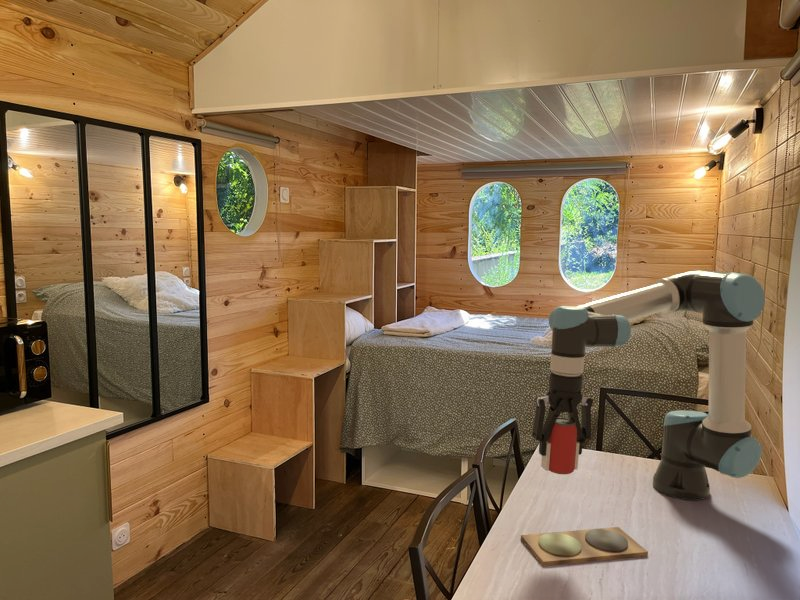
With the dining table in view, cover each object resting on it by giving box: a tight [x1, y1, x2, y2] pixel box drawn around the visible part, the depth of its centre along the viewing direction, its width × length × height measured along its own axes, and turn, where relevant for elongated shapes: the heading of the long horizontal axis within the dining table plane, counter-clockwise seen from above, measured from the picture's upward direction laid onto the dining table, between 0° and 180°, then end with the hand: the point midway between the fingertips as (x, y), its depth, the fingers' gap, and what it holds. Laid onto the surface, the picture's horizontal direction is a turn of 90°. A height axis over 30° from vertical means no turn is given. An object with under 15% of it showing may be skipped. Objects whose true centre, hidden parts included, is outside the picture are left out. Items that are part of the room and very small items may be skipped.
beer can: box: [548, 416, 577, 475], centre depth 144 cm, size 7×7×12 cm
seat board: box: [520, 526, 649, 567], centre depth 143 cm, size 26×12×2 cm, turn 103°
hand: (559, 467), depth 145 cm, fingers closed on beer can, 6 cm apart
